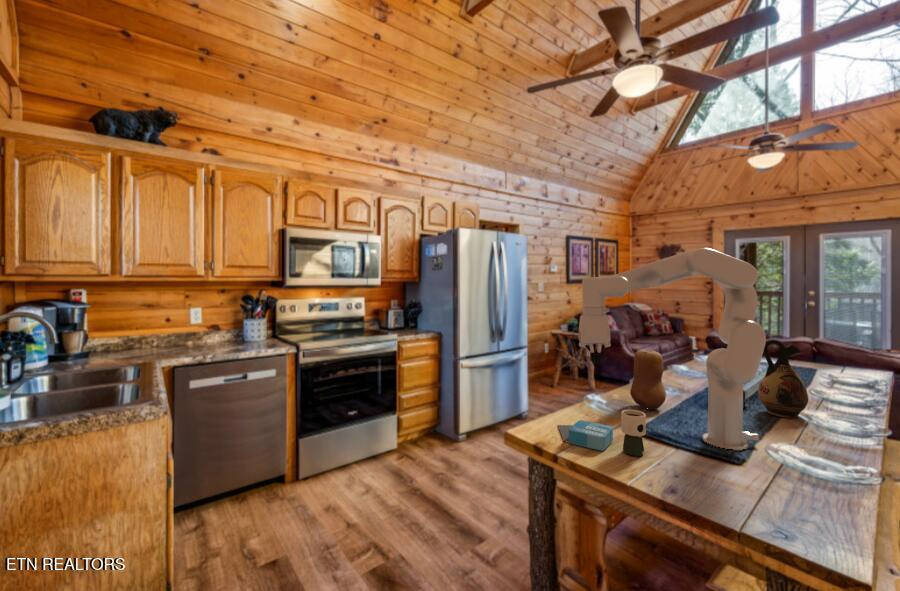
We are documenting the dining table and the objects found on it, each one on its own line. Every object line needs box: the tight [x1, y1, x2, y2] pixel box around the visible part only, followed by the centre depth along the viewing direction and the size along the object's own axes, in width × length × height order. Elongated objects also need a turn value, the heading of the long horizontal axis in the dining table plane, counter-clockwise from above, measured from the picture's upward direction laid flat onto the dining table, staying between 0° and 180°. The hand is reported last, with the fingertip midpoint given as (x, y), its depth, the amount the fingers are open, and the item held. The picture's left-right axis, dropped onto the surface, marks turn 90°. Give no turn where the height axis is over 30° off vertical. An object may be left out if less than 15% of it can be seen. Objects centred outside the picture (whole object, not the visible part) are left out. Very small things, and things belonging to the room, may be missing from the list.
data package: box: [568, 419, 614, 451], centre depth 136 cm, size 12×4×12 cm
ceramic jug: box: [757, 338, 809, 420], centre depth 160 cm, size 17×15×30 cm
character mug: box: [620, 409, 647, 457], centre depth 127 cm, size 11×7×13 cm, turn 134°
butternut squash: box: [629, 348, 667, 410], centre depth 170 cm, size 14×13×25 cm
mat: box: [557, 424, 574, 443], centre depth 144 cm, size 12×15×1 cm
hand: (595, 363), depth 142 cm, fingers closed
